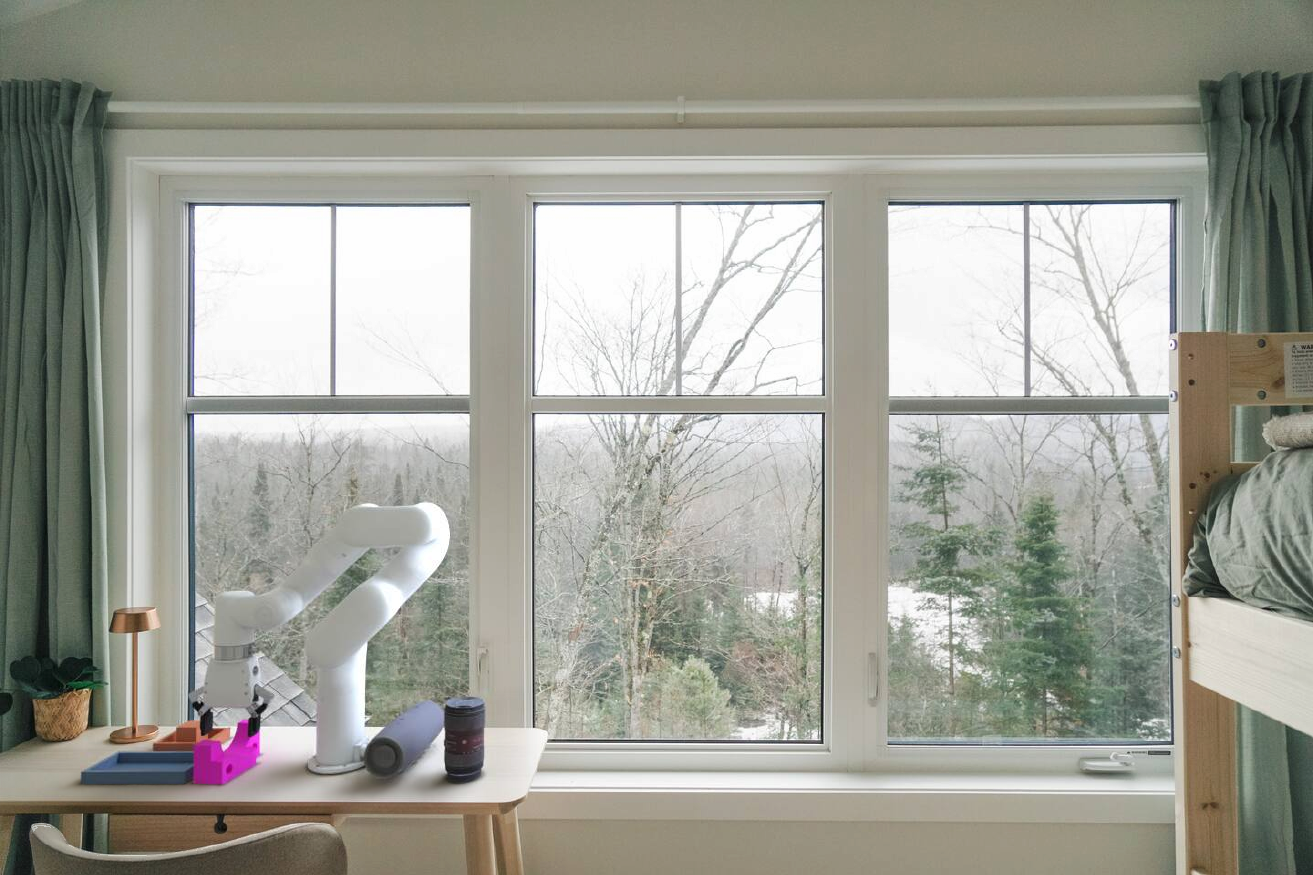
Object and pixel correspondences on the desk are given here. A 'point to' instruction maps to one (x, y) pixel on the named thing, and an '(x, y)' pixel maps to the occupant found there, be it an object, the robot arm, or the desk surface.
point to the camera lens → (464, 738)
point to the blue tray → (142, 768)
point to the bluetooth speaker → (404, 740)
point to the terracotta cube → (190, 732)
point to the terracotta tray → (171, 745)
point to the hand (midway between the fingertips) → (229, 734)
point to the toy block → (225, 757)
